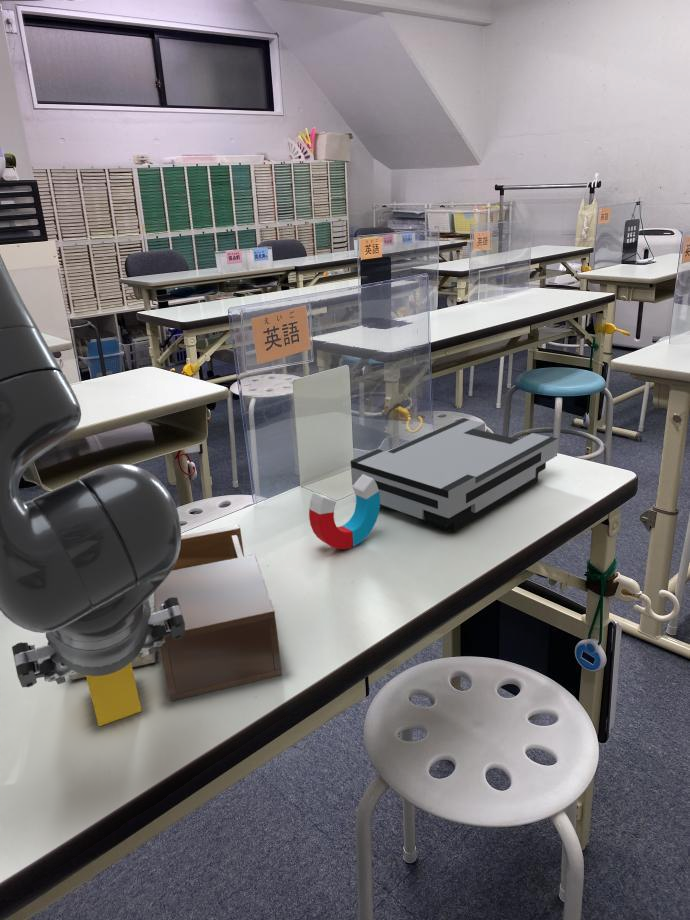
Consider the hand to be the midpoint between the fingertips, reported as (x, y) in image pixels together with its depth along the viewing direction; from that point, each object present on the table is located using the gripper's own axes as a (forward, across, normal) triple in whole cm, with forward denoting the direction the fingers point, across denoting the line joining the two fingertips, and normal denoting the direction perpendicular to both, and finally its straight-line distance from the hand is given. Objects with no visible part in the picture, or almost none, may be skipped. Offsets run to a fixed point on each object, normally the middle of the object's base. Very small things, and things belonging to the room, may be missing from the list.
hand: (105, 657), depth 67 cm
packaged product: (+22, -2, -7) cm, 23 cm away
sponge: (+12, 0, +3) cm, 12 cm away
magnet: (+25, -38, -10) cm, 47 cm away
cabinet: (+14, -13, +1) cm, 19 cm away
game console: (+30, -64, -16) cm, 72 cm away
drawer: (+23, -15, -9) cm, 29 cm away
